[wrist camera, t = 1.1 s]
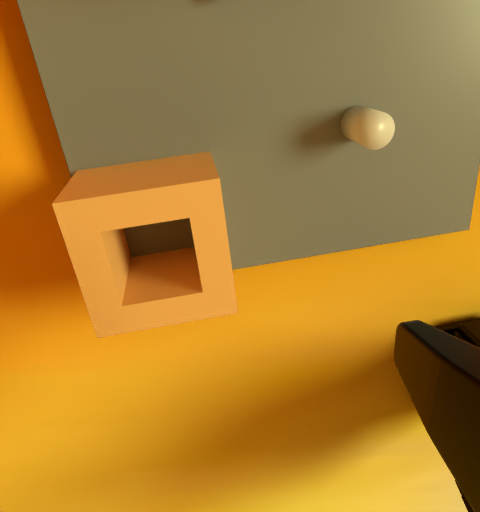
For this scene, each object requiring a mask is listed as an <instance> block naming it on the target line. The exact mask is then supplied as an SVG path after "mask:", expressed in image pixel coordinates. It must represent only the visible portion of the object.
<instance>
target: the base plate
mask: <svg viewBox="0 0 480 512" xmlns="http://www.w3.org/2000/svg"><path fill="white" fill-rule="evenodd" d="M17 2H18V6H19V9H20V12H21V15H22V19H23V22H24V25H25V28H26V32H27V35H28V38H29V41H30V45H31V48H32V51H33V54H34V58H35V61H36V64H37V67H38V71H39V74H40V77H41V81H42V84H43V87H44V90H45V94H46V97H47V100H48V103H49V107H50V110H51V113H52V116H53V120H54V123H55V126H56V129H57V133H58V136H59V139H60V142H61V146H62V149H63V152H64V156H65V159H66V162H67V165H68V169H69V172H70V175H71V178H72V177H73V175H74V174H75V173H76V171H78V170H85V169H91V168H98V167H105V166H112V165H119V164H126V163H133V162H140V161H146V160H153V159H160V158H167V157H174V156H181V155H188V154H195V153H201V152H208V151H210V153H211V156H212V159H213V161H214V164H215V167H216V169H217V172H218V175H219V177H220V183H221V190H222V198H223V205H224V213H225V220H226V227H227V235H228V242H229V249H230V257H231V264H232V270H233V269H239V268H245V267H251V266H257V265H263V264H269V263H275V262H281V261H286V260H292V259H298V258H304V257H310V256H316V255H322V254H328V253H334V252H340V251H345V250H351V249H357V248H363V247H369V246H375V245H381V244H387V243H393V242H399V241H404V240H410V239H416V238H422V237H428V236H434V235H440V234H446V233H452V232H458V231H463V230H469V227H470V221H471V215H472V208H473V202H474V196H475V190H476V184H477V177H478V171H479V165H480V0H17ZM123 229H124V232H125V236H126V240H127V244H128V248H129V252H130V255H131V257H137V256H143V255H149V254H155V253H161V252H167V251H173V250H179V249H186V248H192V247H195V246H194V240H193V234H192V229H191V223H190V218H185V219H179V220H173V221H166V222H160V223H154V224H147V225H141V226H135V227H128V228H123Z"/></svg>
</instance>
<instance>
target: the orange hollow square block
mask: <svg viewBox="0 0 480 512" xmlns="http://www.w3.org/2000/svg"><path fill="white" fill-rule="evenodd" d="M52 206H53V209H54V212H55V215H56V218H57V221H58V224H59V226H60V229H61V232H62V235H63V238H64V241H65V244H66V247H67V250H68V253H69V256H70V259H71V262H72V265H73V268H74V271H75V274H76V277H77V280H78V282H79V285H80V288H81V291H82V294H83V297H84V300H85V303H86V306H87V309H88V312H89V315H90V318H91V321H92V324H93V327H94V330H95V333H96V336H97V338H101V337H106V336H112V335H118V334H123V333H129V332H134V331H140V330H146V329H151V328H157V327H162V326H168V325H174V324H179V323H185V322H190V321H196V320H202V319H207V318H213V317H218V316H224V315H230V314H235V313H238V308H237V301H236V293H235V286H234V279H233V271H232V264H231V257H230V249H229V242H228V235H227V227H226V220H225V213H224V205H223V198H222V190H221V183H220V177H219V175H218V172H217V169H216V167H215V164H214V161H213V159H212V156H211V153H210V151H208V152H201V153H195V154H188V155H181V156H174V157H167V158H160V159H153V160H146V161H140V162H133V163H126V164H119V165H112V166H105V167H98V168H91V169H85V170H78V171H76V173H75V174H74V175H73V177H72V178H71V179H70V180H69V182H68V183H67V184H66V186H65V187H64V188H63V190H62V191H61V192H60V194H59V195H58V196H57V197H56V199H55V200H54V201H53V203H52ZM185 218H190V223H191V229H192V234H193V240H194V246H195V247H192V248H186V249H179V250H173V251H167V252H161V253H155V254H149V255H143V256H137V257H131V255H130V252H129V248H128V244H127V240H126V236H125V232H124V229H123V228H128V227H135V226H141V225H147V224H154V223H160V222H166V221H173V220H179V219H185Z"/></svg>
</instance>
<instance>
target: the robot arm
mask: <svg viewBox="0 0 480 512" xmlns="http://www.w3.org/2000/svg"><path fill="white" fill-rule="evenodd" d="M394 361H395V365H396V367H397V369H398V371H399V373H400V376H401V378H402V380H403V382H404V384H405V386H406V388H407V391H408V393H409V395H410V397H411V399H412V401H413V403H414V406H415V408H416V410H417V412H418V414H419V416H420V418H421V421H422V423H423V425H424V427H425V429H426V431H427V433H428V434H429V436H430V438H431V440H432V441H433V443H434V445H435V447H436V448H437V450H438V452H439V453H440V455H441V457H442V458H443V460H444V462H445V463H446V465H447V467H448V468H449V470H450V472H451V473H452V475H453V477H454V478H455V482H456V484H457V486H458V489H459V491H460V493H461V495H462V499H463V501H464V504H465V506H466V508H467V510H468V512H480V319H476V320H471V321H466V322H460V323H455V324H450V325H444V326H439V327H433V326H431V325H429V324H426V323H424V322H422V321H419V320H414V321H407V322H402V323H400V324H399V325H398V326H397V329H396V337H395V346H394Z"/></svg>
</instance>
